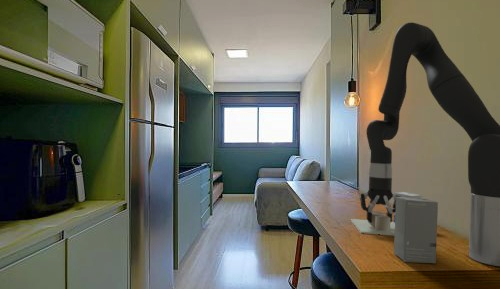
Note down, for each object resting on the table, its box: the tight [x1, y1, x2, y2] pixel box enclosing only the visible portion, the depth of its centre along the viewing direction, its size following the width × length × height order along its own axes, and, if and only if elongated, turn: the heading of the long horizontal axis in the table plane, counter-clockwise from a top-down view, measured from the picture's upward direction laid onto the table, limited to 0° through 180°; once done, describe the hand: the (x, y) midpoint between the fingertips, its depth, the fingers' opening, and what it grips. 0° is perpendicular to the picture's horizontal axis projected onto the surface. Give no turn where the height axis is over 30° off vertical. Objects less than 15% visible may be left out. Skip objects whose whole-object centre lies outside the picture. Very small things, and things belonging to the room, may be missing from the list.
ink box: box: [393, 191, 422, 223], centre depth 116 cm, size 8×5×12 cm, turn 17°
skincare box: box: [393, 197, 439, 264], centre depth 79 cm, size 8×7×16 cm
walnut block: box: [368, 210, 390, 231], centre depth 109 cm, size 4×4×11 cm
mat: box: [349, 218, 395, 237], centre depth 109 cm, size 16×18×1 cm
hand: (379, 222), depth 108 cm, fingers open, 5 cm apart
